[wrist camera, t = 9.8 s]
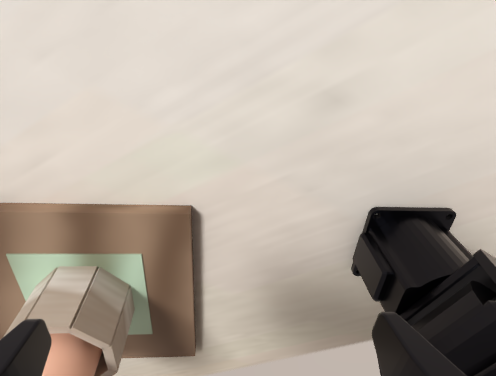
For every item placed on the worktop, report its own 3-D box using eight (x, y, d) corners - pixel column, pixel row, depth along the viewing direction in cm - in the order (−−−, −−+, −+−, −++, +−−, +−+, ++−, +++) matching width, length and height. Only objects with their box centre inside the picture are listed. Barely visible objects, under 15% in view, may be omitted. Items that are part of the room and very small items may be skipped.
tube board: (191, 205, 22) (182, 269, 17) (195, 345, 30) (190, 417, 25) (-60, 202, 21) (-153, 270, 16) (16, 350, 29) (-29, 427, 24)
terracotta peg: (111, 277, 24) (57, 414, 16) (123, 316, 26) (81, 452, 18) (49, 281, 23) (-36, 421, 16) (67, 320, 26) (1, 459, 18)
